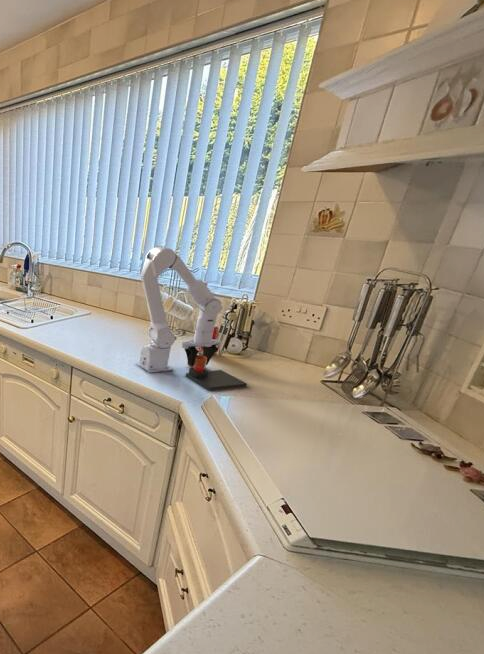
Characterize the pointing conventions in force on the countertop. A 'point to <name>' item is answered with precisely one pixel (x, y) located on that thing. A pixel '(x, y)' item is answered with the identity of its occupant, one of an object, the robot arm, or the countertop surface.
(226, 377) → the scale
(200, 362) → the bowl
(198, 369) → the button
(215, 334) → the soda can
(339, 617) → the countertop surface
